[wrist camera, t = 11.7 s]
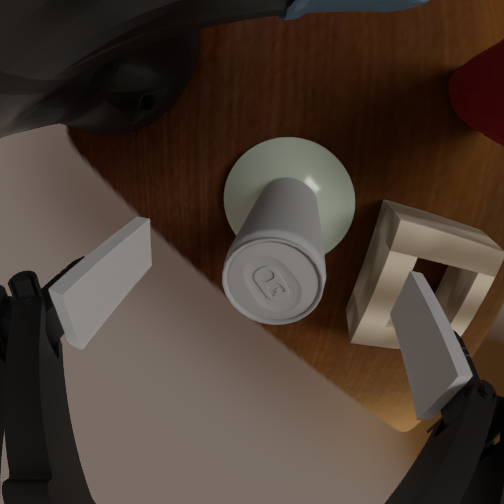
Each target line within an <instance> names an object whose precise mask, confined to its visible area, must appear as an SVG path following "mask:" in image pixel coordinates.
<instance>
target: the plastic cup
mask: <svg viewBox="0 0 504 504" xmlns="http://www.w3.org/2000/svg"><path fill="white" fill-rule="evenodd" d="M448 88H449V98H450V101H451V105H452V108H453V109H454V111H455V112H456V114H457V115H458V117H459V118H460V119H461V120H462V121H463V122H465V123H466V124H467V125H468V126H469V127H471V128H473V129H475V130H477V131H479V132H481V133H483V134H484V135H485V136H486V137H488V138H490V139H492V140H494V141H495V142H497V143H499V144H501V145H502V146H504V39H503V40H502V41H501V42H499V43H497V44H495V45H494V46H492V47H490V48H488V49H487V50H485V51H483V52H481V53H480V54H478V55H476V56H475V57H473V58H472V59H471V60H469V61H468V62H467V63H465V64H464V65H462V66H460V67H459V68H458V69H457V70H456V71H454V73H453V74H452V76H451V78H450V81H449V84H448Z"/></svg>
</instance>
